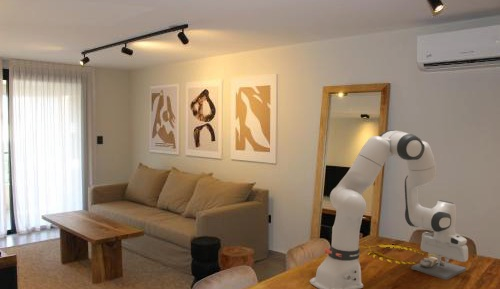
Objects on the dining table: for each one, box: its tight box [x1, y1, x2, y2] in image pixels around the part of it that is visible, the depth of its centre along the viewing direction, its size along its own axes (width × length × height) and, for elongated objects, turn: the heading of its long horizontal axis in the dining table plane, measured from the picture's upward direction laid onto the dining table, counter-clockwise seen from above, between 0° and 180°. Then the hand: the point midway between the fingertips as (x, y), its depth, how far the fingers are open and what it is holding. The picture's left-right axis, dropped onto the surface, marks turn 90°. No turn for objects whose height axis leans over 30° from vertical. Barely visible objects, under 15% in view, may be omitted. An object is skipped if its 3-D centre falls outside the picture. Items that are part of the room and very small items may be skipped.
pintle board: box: [410, 252, 467, 281], centre depth 180 cm, size 20×16×5 cm
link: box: [419, 256, 439, 268], centre depth 183 cm, size 15×5×2 cm, turn 132°
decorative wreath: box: [361, 242, 426, 265], centre depth 204 cm, size 35×2×30 cm
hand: (442, 265), depth 177 cm, fingers closed
